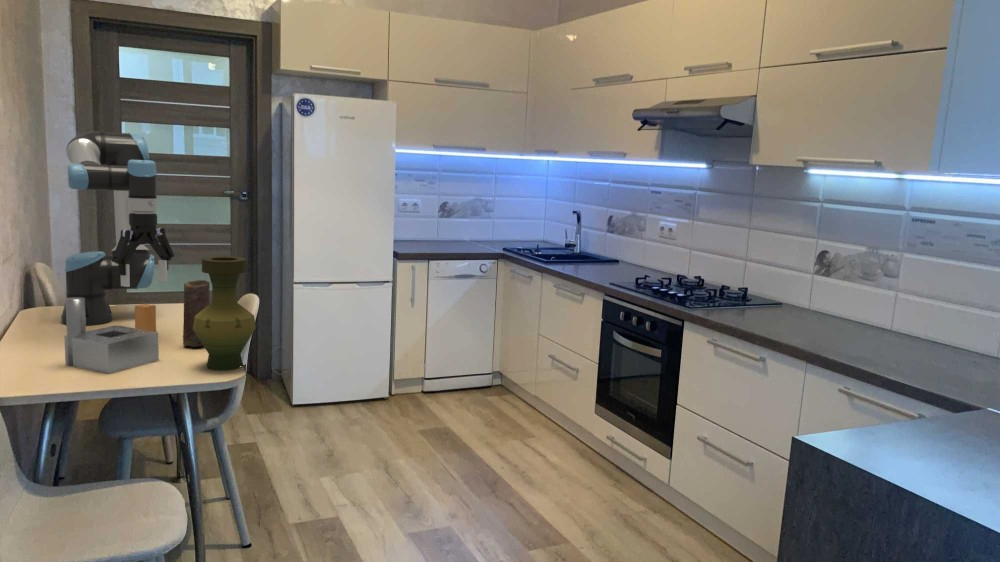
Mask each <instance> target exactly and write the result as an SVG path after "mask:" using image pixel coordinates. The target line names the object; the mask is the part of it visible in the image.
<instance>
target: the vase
mask: <svg viewBox="0 0 1000 562" xmlns="http://www.w3.org/2000/svg"><path fill="white" fill-rule="evenodd" d="M201 272H202V273H203V274H208V276H209V279H210V284H211V294H212V295H211V299H212V300H211V303H209V305H208V306H207V307H205V308H204V309H203V310H202V311H200V312H199V313H198V314H196V315H195V316H194V323H193V330H194V332H195V333H196V335H197V336H198V338H199V340H200V341H201V343H202V344H203V345H202V347H203V348H204V349H205V350H206V352H207V355H208V357H207V362H206V366H207V367H206V368H207V369H208V370H211V371H221V372H222V371H223V372H224V371H226V372H227V371H234V370H237V368H238V369H240V368H239V367H240V366H242V367H243V366H244V364H243V363H244V362H243V359H242V358H243V357H242V355H241V354H242V352H243V350H244V348H245V347H246V345H247V343H248V342H249V340H250V339H251V337H252V335H253V334H254V332H255V331H256V329H257V326H256V319H255V315H254V314H253V313H252V312H250V311H249V310H248V309H246V308H245V307H244V306H242V305H241V304H240V303H238V302H237V297H238V295H237V286H238V282H239V278H240V274H245V273H246V272H247V259H246V258H244V257H239V256H226V255H225V256H223V255H222V256H206V257H203V258H201Z"/></svg>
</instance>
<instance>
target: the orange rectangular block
mask: <svg viewBox="0 0 1000 562" xmlns="http://www.w3.org/2000/svg"><path fill="white" fill-rule="evenodd" d="M156 309H157V308H156V305H155V304H151V303H150V304H149V303H143V304H137V305H134V327H135V329H141V330H147V331H153V332H157V317H156V316H157V314H156V313H157V312H156Z"/></svg>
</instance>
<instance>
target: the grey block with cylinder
mask: <svg viewBox="0 0 1000 562" xmlns="http://www.w3.org/2000/svg"><path fill="white" fill-rule="evenodd" d="M65 303H66V321H67V324H66V335H63V337H64V354H65V357H64V359H65V366H69V367H74V368H78V367H79V368H80V369H83V368H84V370H89V371H93V372H97V373H98V372H100V373H102V374H103V373H104V374H108V375H109V374H113V373H118V372H120V371H124V370H129V369H131V368H136V367H138V366H143V365H146V364H149V363H153V362H157V361H159V360H160V356H159V354H160V353H159V332H158V331H156V332H153V331H147V330H141V329H135V328H133V327H129V326H123V325H119V324H117V325H112V326H107V327H102V328H97V329H92V330H87V325H86V318H85V298H82V297H73V298H67V297H66V298H65Z"/></svg>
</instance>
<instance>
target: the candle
mask: <svg viewBox="0 0 1000 562" xmlns="http://www.w3.org/2000/svg"><path fill="white" fill-rule="evenodd" d="M210 284H211V282H210V281H207V280H204V279H203V280H202V279H194V280H190V281H187V282H184V283H183V325H182V327H183V329H182V331H183V332H182V343H183V346H187V347H190V348H199V347H201V346H203V344H202V343H201V341H200V340H199V338H198V336H197V335H196V333H195V332H194V330H193V323H194V316H195V315H196V314H198V313H199V312H200V311H202V310H203V309H204V308H205V307H207V306H208V305H209V304H210V288H211V287H210V286H211V285H210Z"/></svg>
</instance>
